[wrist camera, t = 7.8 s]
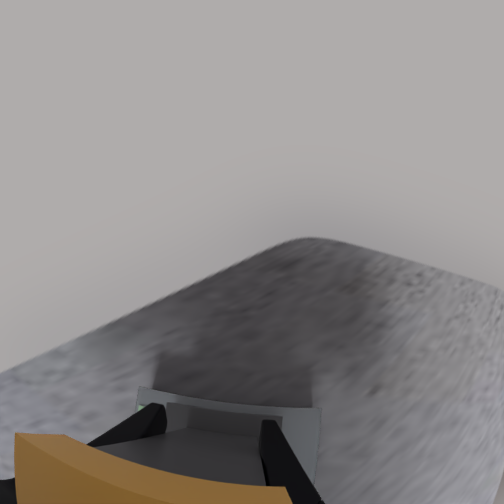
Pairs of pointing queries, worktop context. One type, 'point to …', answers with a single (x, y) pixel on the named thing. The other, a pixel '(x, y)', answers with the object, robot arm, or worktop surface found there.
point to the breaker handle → (152, 464)
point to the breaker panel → (294, 419)
